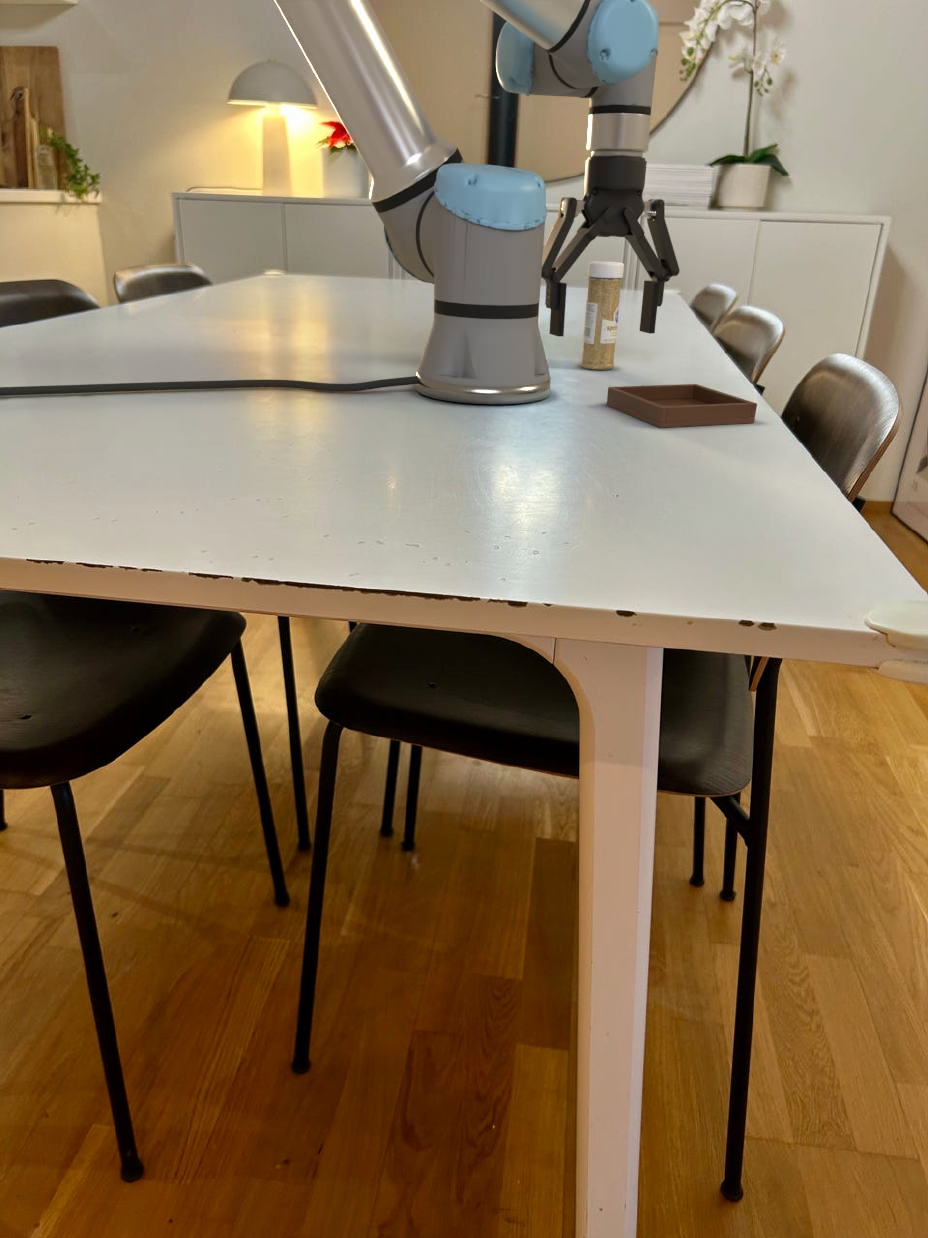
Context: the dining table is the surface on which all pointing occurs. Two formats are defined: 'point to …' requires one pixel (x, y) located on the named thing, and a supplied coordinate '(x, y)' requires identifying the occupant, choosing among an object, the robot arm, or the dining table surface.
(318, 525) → the dining table surface
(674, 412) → the serving tray
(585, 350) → the spice jar
